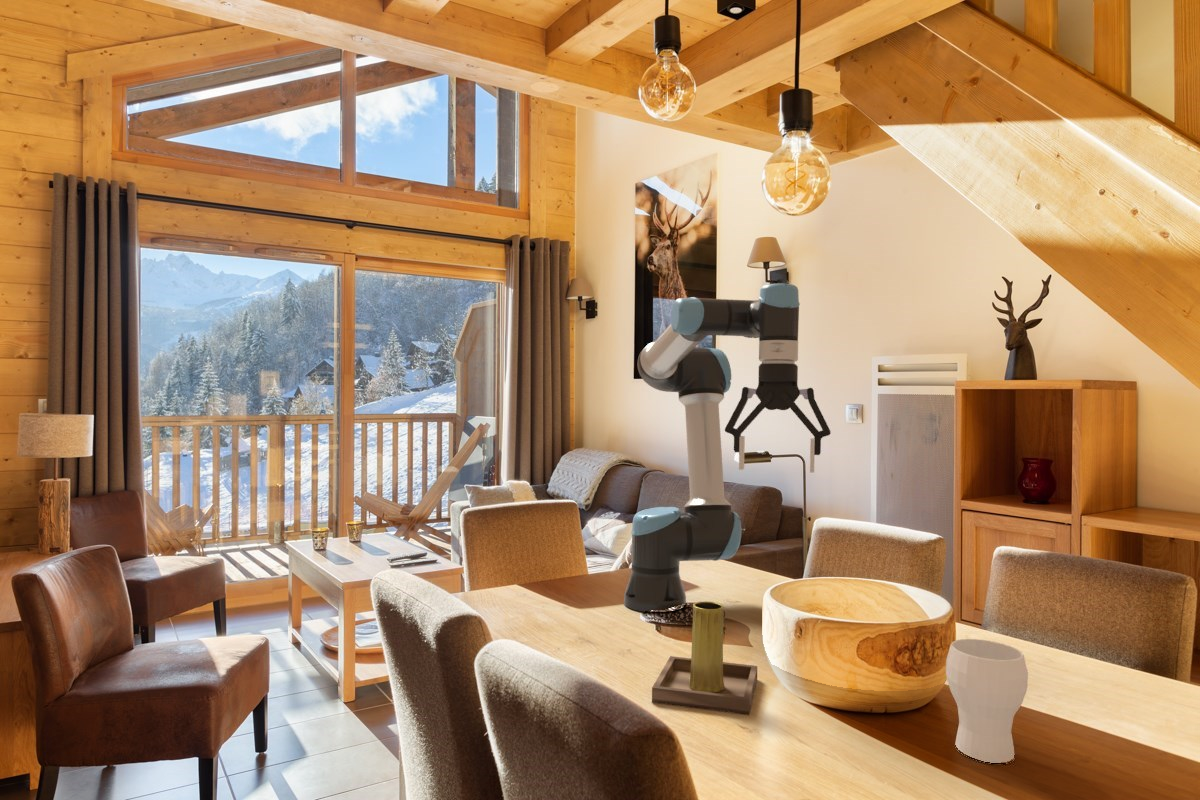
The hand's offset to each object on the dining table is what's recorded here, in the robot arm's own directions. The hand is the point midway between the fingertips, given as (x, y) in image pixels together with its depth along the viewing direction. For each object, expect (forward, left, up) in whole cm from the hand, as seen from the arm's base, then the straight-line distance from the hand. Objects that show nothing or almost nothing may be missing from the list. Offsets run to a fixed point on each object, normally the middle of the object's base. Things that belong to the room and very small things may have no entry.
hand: (776, 470), depth 150 cm
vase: (+22, -10, -36) cm, 44 cm away
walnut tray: (+22, -10, -37) cm, 44 cm away
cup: (+32, +32, -37) cm, 58 cm away
